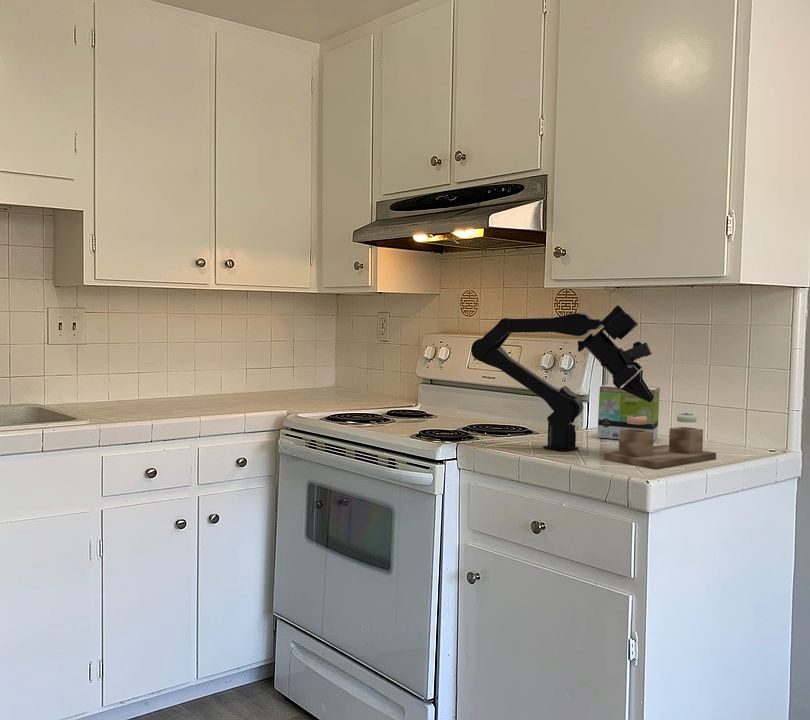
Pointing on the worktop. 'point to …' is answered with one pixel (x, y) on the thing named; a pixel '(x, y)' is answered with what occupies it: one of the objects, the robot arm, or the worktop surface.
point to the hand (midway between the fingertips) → (652, 400)
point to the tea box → (625, 411)
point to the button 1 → (637, 419)
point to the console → (660, 448)
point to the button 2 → (687, 418)
